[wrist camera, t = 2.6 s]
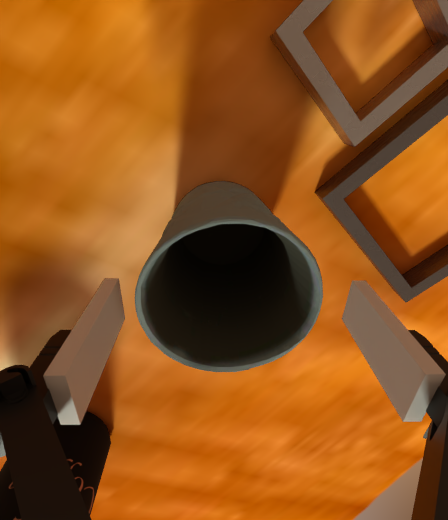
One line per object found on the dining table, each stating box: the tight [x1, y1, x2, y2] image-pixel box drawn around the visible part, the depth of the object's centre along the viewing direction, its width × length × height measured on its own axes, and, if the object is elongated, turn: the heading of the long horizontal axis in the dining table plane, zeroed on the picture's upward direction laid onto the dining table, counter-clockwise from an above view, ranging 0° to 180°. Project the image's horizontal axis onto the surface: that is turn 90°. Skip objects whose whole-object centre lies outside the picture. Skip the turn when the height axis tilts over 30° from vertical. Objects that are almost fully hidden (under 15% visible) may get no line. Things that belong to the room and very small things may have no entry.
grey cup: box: [135, 181, 323, 372], centre depth 21 cm, size 10×10×12 cm
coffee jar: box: [0, 412, 111, 520], centre depth 31 cm, size 11×11×18 cm
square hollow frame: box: [315, 80, 448, 302], centre depth 25 cm, size 14×14×2 cm
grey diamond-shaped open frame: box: [270, 0, 448, 147], centre depth 20 cm, size 9×9×2 cm
